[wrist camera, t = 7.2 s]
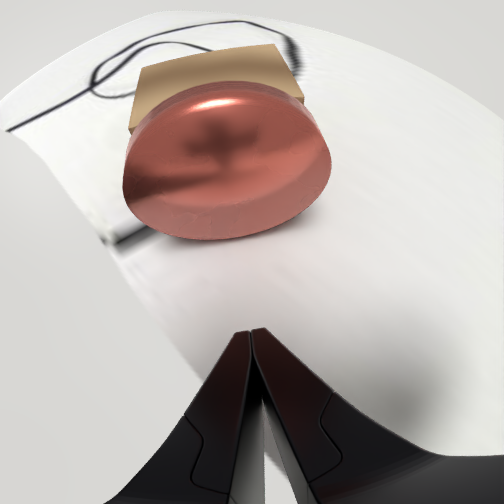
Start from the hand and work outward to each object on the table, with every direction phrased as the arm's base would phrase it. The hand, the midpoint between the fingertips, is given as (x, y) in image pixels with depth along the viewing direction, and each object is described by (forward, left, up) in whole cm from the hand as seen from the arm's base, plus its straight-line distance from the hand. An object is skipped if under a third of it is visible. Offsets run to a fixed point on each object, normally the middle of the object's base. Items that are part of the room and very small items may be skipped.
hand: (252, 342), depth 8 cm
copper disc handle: (+9, +8, -6) cm, 13 cm away
